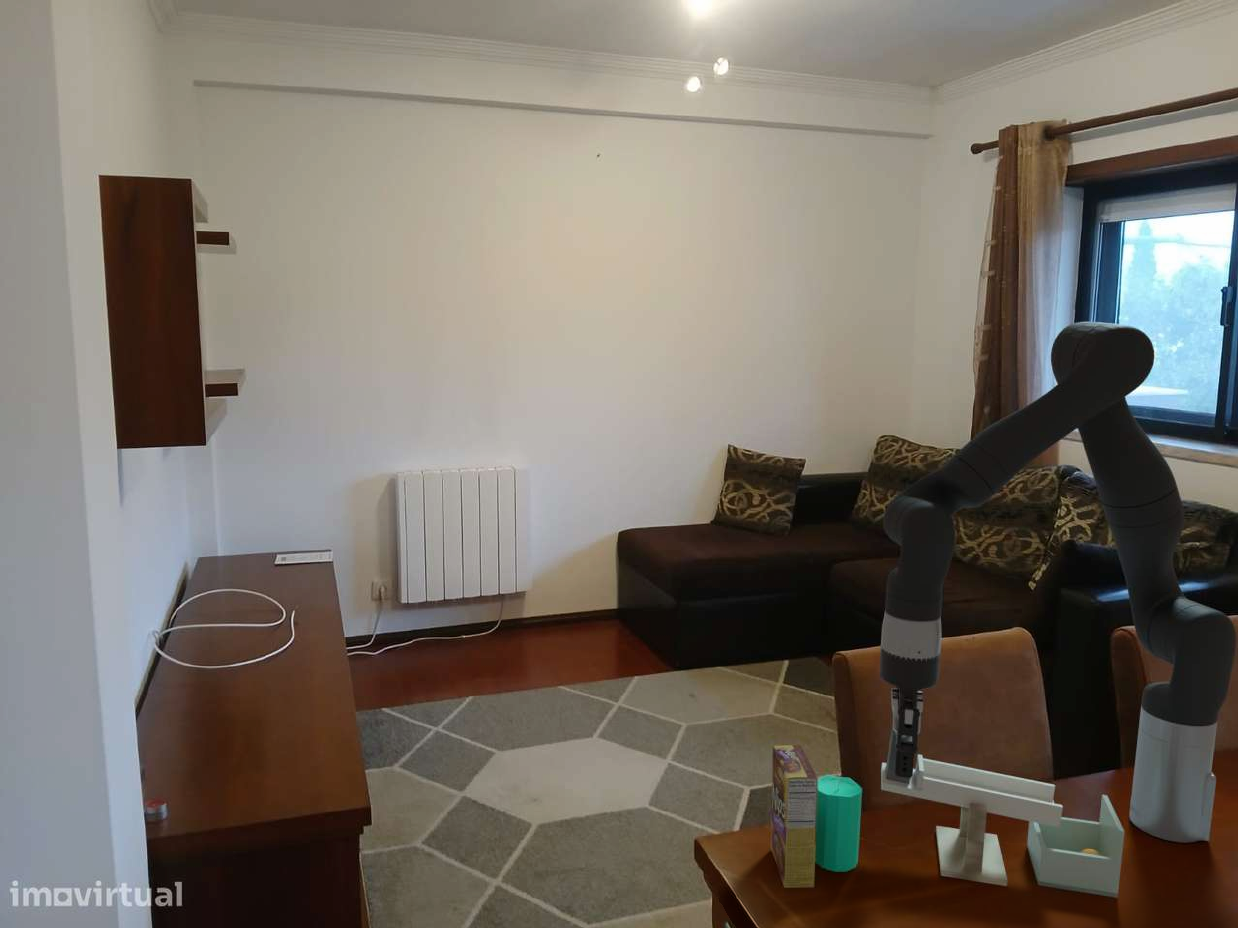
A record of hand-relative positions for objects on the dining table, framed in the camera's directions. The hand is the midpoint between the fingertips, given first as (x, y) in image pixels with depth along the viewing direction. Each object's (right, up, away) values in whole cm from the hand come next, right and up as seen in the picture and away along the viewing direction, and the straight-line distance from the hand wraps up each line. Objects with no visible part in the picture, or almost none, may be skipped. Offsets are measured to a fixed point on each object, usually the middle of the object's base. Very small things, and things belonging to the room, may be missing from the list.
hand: (902, 762), depth 125 cm
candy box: (-16, -13, -4) cm, 21 cm away
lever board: (+8, -5, -1) cm, 9 cm away
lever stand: (+9, -13, -1) cm, 15 cm away
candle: (-9, -13, -1) cm, 16 cm away
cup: (+21, -13, -3) cm, 25 cm away
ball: (+23, -11, -5) cm, 26 cm away
